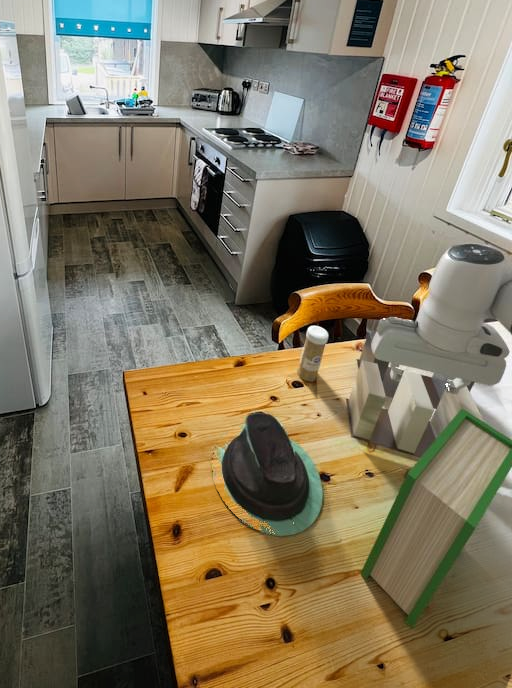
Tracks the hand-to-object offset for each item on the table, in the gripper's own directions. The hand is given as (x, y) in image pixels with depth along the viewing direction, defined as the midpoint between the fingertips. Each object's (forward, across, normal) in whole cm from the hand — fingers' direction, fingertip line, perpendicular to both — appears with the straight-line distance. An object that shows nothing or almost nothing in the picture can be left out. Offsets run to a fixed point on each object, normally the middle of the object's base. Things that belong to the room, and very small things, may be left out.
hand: (422, 384), depth 76 cm
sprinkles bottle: (+14, -18, +10) cm, 25 cm away
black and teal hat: (+14, -27, -18) cm, 35 cm away
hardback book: (+14, -3, -24) cm, 28 cm away
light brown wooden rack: (+14, 0, 0) cm, 14 cm away
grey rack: (+14, +4, +14) cm, 20 cm away
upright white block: (+13, 0, 0) cm, 13 cm away
